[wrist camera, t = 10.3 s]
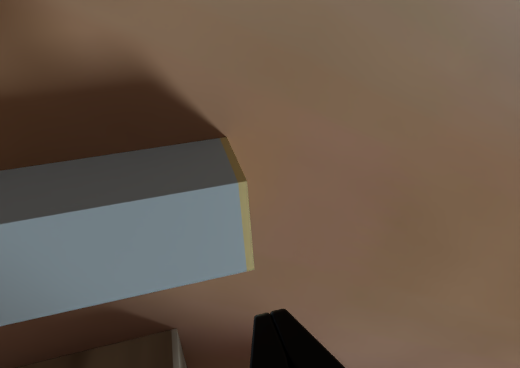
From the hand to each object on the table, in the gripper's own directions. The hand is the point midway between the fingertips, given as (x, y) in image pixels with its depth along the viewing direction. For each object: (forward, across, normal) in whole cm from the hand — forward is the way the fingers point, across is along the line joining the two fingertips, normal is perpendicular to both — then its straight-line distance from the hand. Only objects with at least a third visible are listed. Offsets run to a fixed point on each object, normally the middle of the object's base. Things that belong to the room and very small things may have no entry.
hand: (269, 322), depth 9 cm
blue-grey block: (+6, 0, 0) cm, 6 cm away
